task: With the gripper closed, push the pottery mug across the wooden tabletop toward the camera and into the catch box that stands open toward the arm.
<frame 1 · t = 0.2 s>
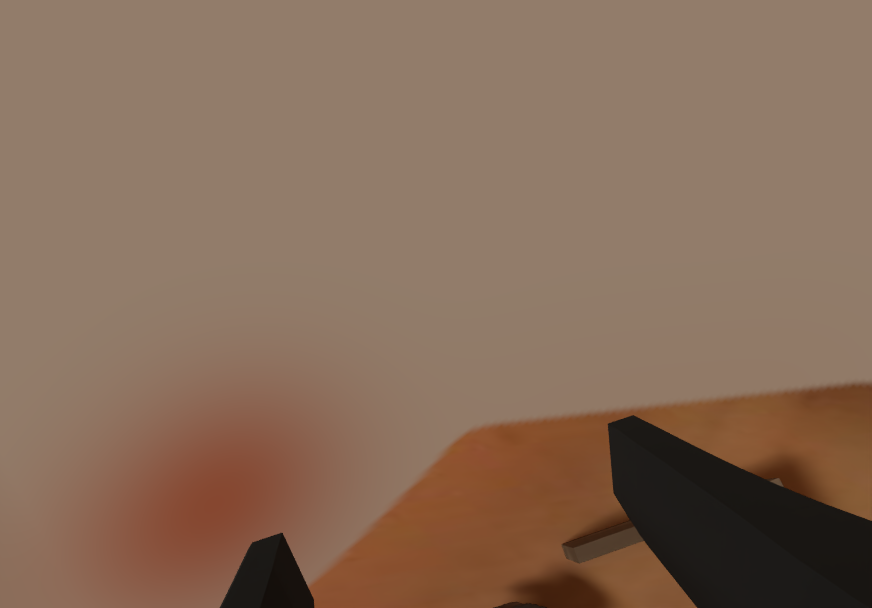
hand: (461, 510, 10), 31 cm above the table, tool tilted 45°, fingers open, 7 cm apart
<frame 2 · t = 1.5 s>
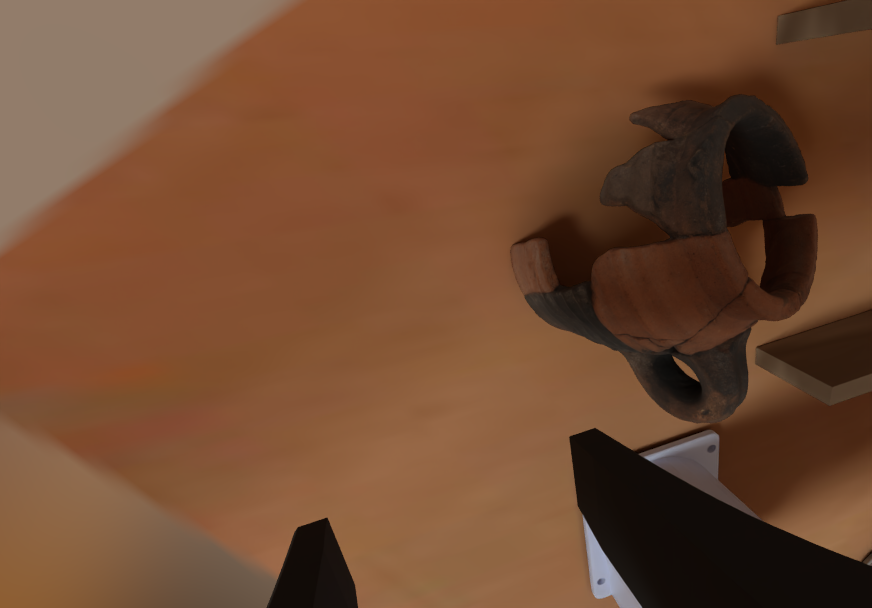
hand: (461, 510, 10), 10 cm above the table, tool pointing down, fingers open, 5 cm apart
pottery mug: (617, 250, 21), on the table
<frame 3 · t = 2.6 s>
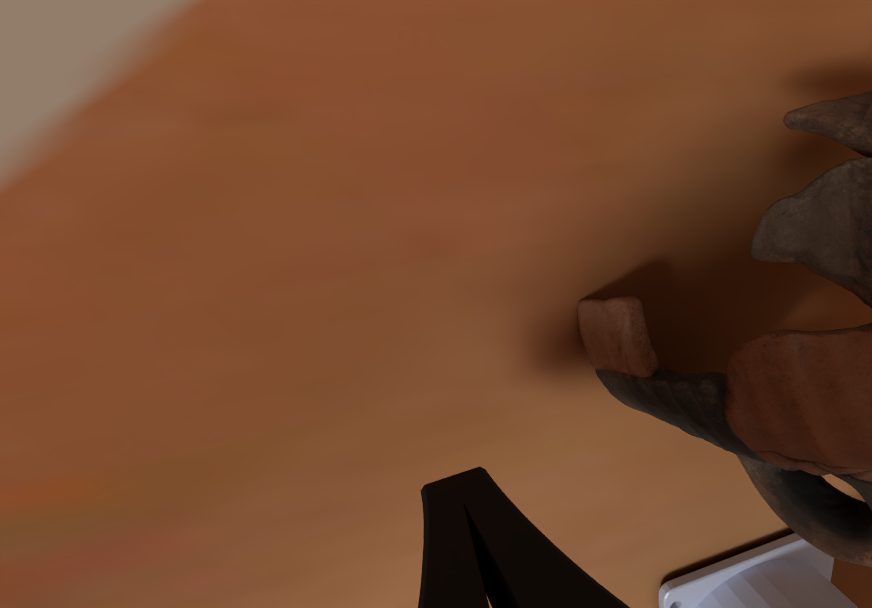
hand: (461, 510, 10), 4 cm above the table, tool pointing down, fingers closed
pottery mug: (719, 302, 15), on the table
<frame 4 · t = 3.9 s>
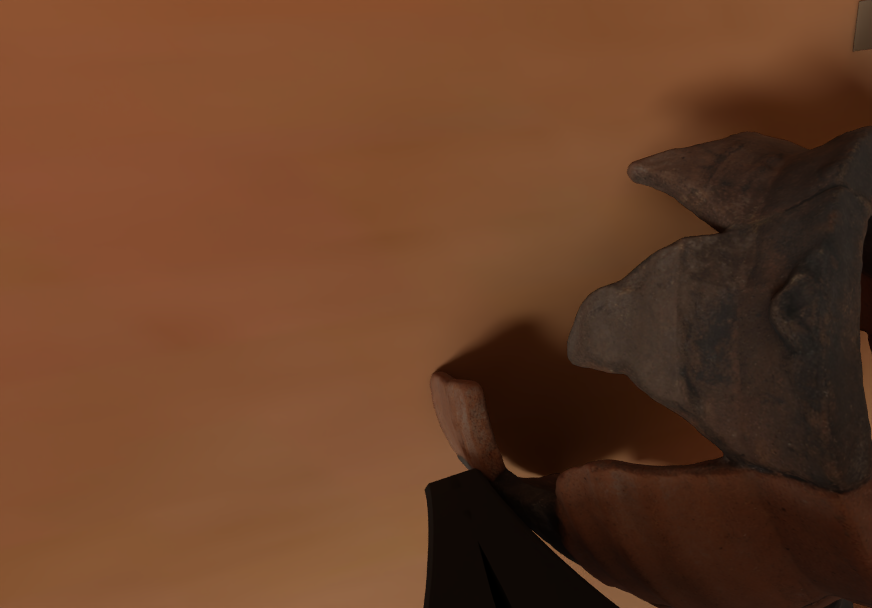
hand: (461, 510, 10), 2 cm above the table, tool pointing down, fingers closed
pottery mug: (613, 364, 13), on the table, touching gripper
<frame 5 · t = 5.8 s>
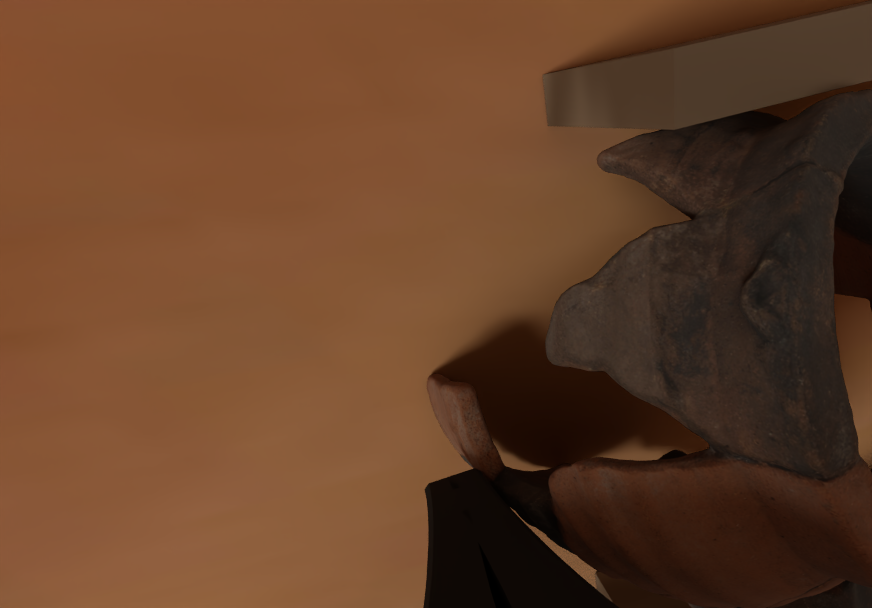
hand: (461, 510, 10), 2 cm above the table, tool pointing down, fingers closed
catch box: (815, 320, 14), on the table
pottery mug: (612, 350, 13), on the table, touching gripper
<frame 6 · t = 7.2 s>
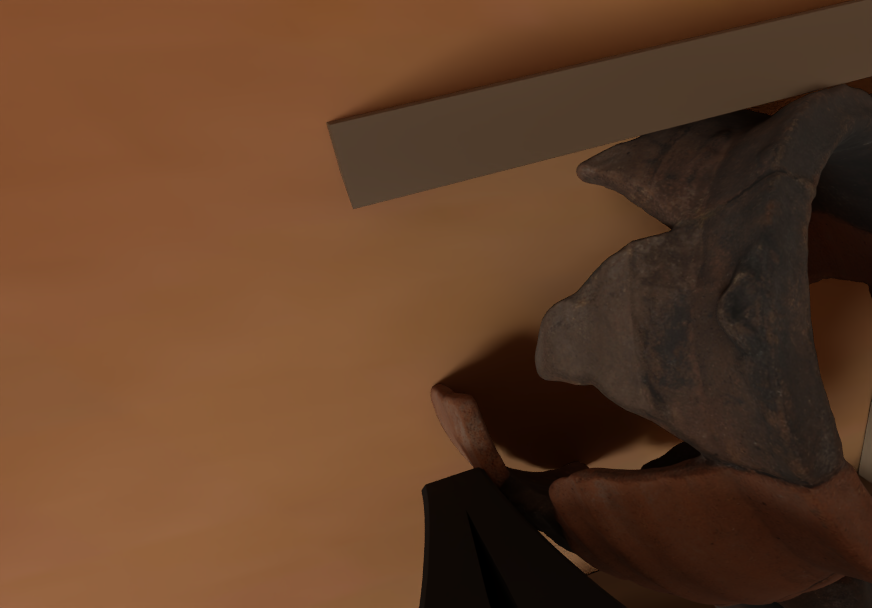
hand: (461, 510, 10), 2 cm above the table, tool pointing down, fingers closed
catch box: (678, 363, 13), on the table
pottery mug: (614, 348, 13), on the table, touching gripper
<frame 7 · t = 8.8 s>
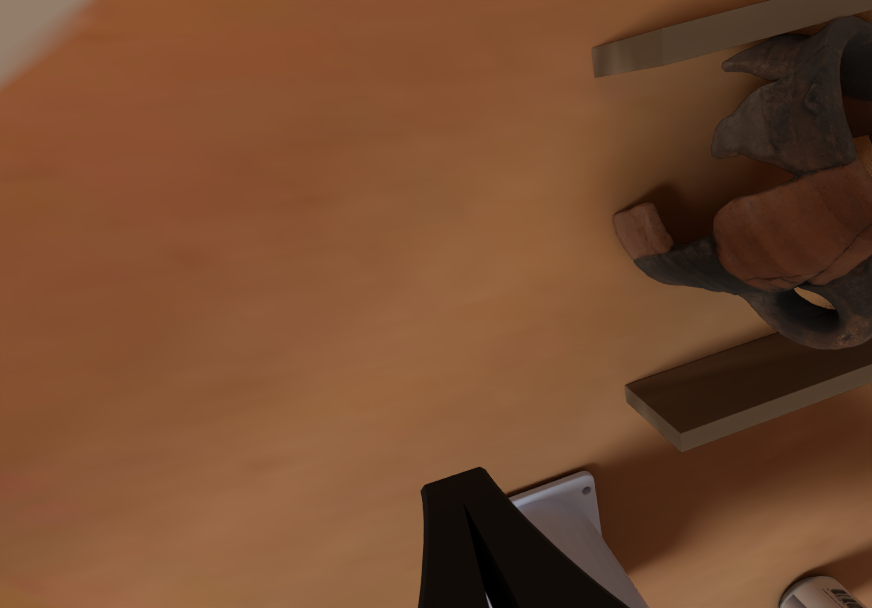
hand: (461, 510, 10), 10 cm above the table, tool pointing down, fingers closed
catch box: (763, 204, 22), on the table
pottery mug: (715, 197, 21), on the table
beer can: (799, 593, 33), on the table
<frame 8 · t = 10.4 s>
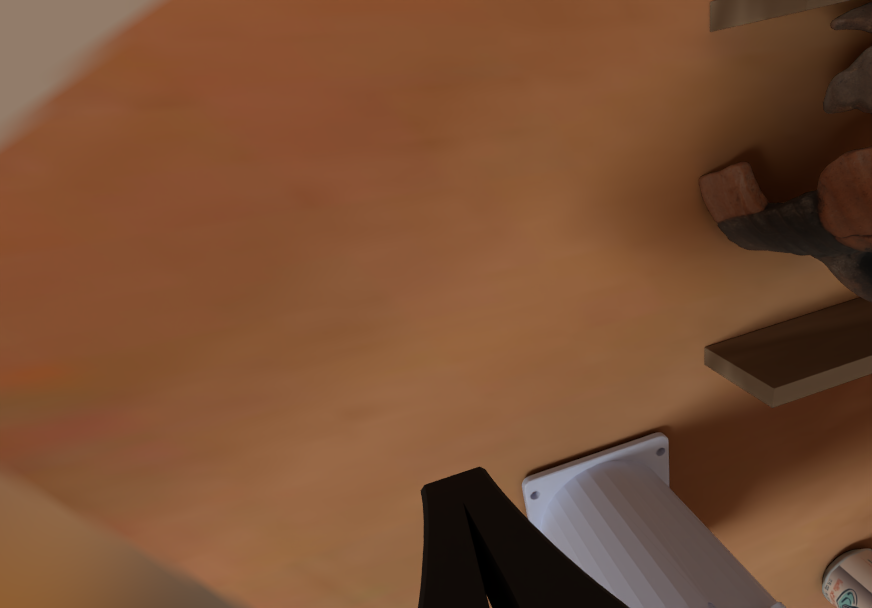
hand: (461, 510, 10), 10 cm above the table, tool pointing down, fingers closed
catch box: (852, 169, 22), on the table
pottery mug: (795, 163, 22), on the table
beer can: (841, 566, 34), on the table
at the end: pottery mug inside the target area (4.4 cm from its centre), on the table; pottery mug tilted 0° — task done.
